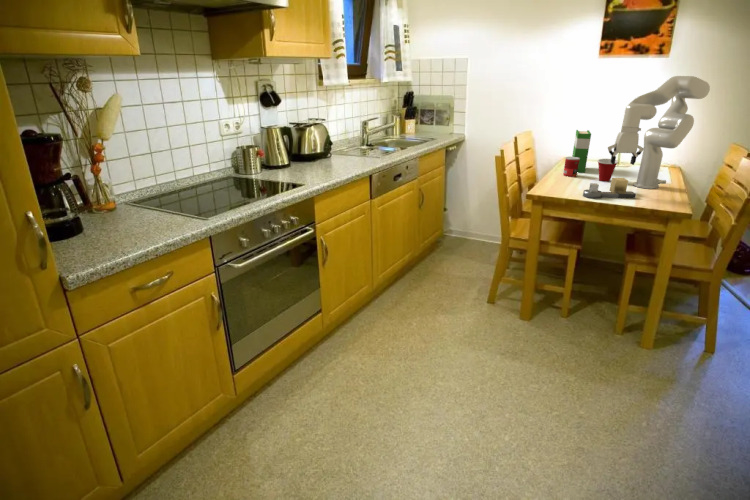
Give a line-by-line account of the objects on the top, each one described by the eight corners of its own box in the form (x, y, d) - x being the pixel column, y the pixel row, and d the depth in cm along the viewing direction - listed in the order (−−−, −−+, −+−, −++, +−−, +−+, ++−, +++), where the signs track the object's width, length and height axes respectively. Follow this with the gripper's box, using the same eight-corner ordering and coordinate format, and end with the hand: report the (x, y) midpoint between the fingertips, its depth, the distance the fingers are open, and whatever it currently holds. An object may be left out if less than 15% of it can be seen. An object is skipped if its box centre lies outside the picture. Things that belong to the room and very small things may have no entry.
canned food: (575, 177, 272) (577, 159, 268) (561, 175, 277) (564, 158, 273) (578, 175, 278) (581, 157, 274) (565, 173, 282) (567, 156, 278)
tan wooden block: (621, 190, 243) (623, 177, 241) (625, 193, 238) (628, 180, 235) (609, 190, 244) (611, 177, 241) (613, 193, 238) (616, 180, 236)
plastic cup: (590, 180, 265) (594, 160, 260) (598, 177, 272) (601, 157, 267) (610, 183, 257) (614, 162, 253) (617, 180, 264) (621, 160, 260)
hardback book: (570, 166, 301) (576, 129, 292) (582, 167, 299) (588, 130, 290) (572, 172, 286) (578, 133, 277) (584, 172, 284) (591, 134, 275)
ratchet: (585, 198, 230) (588, 186, 227) (580, 193, 238) (582, 181, 236) (636, 199, 227) (639, 187, 225) (629, 194, 235) (632, 182, 233)
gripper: (644, 129, 231) (636, 163, 237) (609, 128, 233) (602, 162, 239) (650, 131, 224) (642, 165, 231) (614, 130, 226) (607, 164, 232)
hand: (622, 163), depth 235 cm, fingers open, 9 cm apart
